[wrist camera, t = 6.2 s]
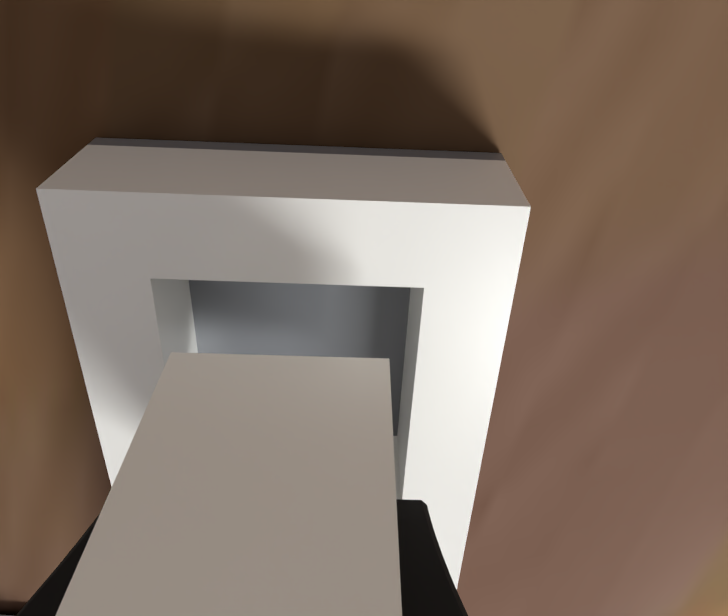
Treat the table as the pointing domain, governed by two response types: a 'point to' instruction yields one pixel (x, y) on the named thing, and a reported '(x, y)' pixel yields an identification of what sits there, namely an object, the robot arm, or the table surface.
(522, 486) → the table surface
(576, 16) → the table surface
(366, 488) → the white drawer with knob
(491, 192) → the white frame
